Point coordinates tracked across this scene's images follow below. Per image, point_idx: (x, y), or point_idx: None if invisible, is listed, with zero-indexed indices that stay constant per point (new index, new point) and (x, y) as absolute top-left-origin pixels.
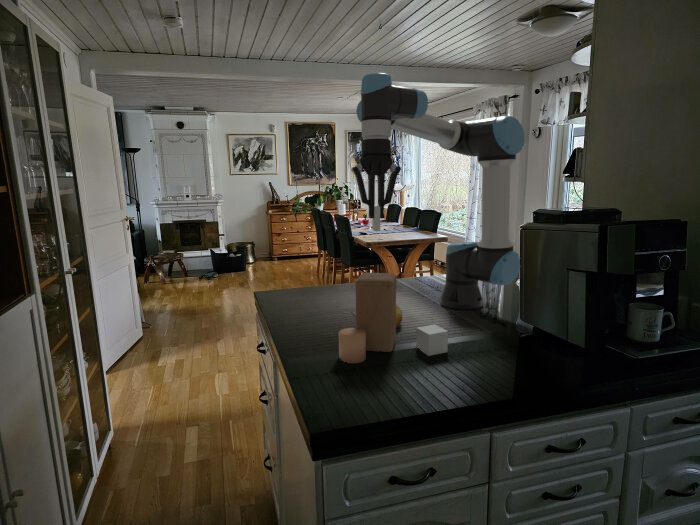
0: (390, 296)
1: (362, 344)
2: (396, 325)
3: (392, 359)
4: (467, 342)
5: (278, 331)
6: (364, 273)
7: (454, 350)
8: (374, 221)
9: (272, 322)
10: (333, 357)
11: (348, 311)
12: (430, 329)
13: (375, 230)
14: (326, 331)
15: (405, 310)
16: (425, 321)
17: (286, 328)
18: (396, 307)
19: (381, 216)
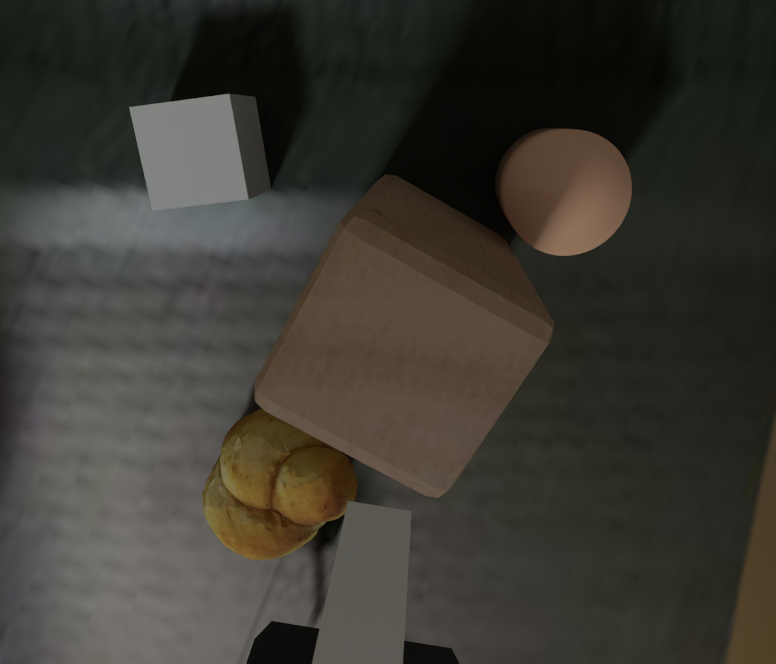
0: (369, 201)
1: (534, 136)
2: None
3: (405, 112)
4: (47, 174)
5: (727, 539)
6: (442, 463)
7: None
8: (404, 594)
9: (717, 639)
10: None
11: None
12: (197, 155)
13: (401, 514)
14: (546, 476)
15: (151, 588)
16: (119, 445)
17: (686, 559)
18: (225, 497)
19: (290, 642)
